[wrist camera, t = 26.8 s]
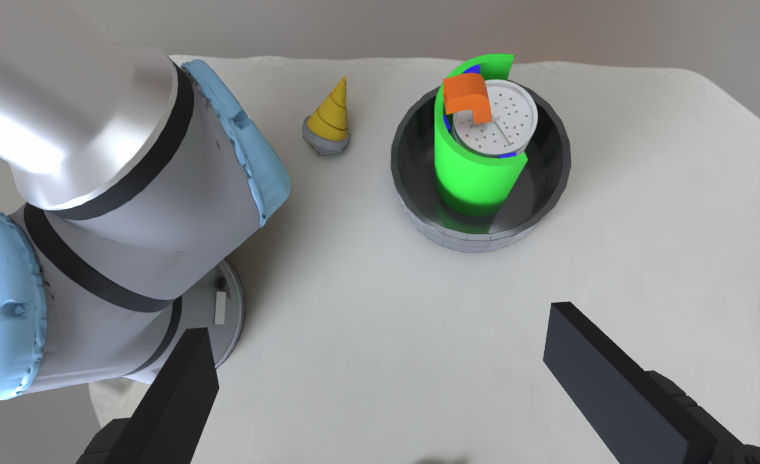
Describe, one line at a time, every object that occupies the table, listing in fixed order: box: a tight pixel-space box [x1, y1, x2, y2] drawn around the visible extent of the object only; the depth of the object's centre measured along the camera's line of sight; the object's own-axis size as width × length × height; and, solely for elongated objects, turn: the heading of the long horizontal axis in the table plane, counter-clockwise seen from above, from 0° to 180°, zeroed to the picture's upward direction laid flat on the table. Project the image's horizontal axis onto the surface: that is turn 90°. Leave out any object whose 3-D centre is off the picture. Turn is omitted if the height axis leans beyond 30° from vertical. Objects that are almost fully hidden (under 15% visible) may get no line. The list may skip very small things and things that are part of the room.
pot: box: [391, 80, 571, 253], centre depth 41 cm, size 16×16×6 cm
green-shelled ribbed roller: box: [435, 54, 538, 217], centre depth 35 cm, size 9×8×18 cm
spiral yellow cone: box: [302, 77, 350, 156], centre depth 44 cm, size 5×5×10 cm
